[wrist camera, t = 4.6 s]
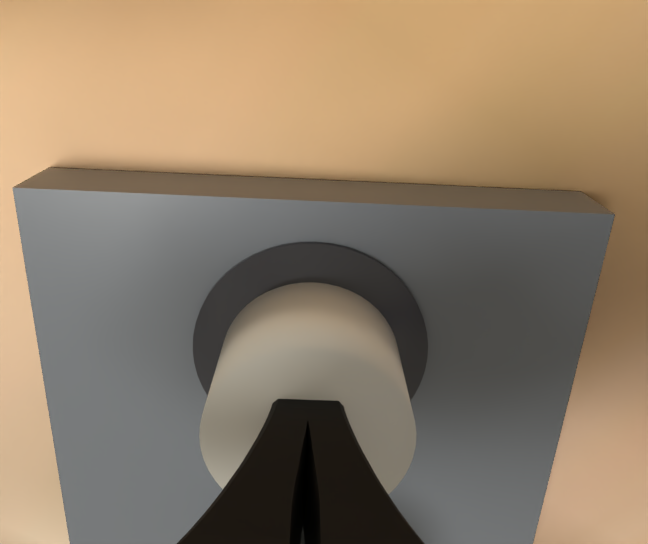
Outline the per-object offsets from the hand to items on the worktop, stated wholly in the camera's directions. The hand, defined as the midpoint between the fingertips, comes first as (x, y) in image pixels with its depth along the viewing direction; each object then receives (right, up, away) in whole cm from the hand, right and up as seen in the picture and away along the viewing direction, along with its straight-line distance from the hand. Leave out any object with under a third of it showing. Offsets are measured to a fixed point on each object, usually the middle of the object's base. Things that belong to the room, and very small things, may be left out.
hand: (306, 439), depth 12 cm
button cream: (0, +1, +3) cm, 3 cm away
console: (0, -4, +8) cm, 9 cm away
